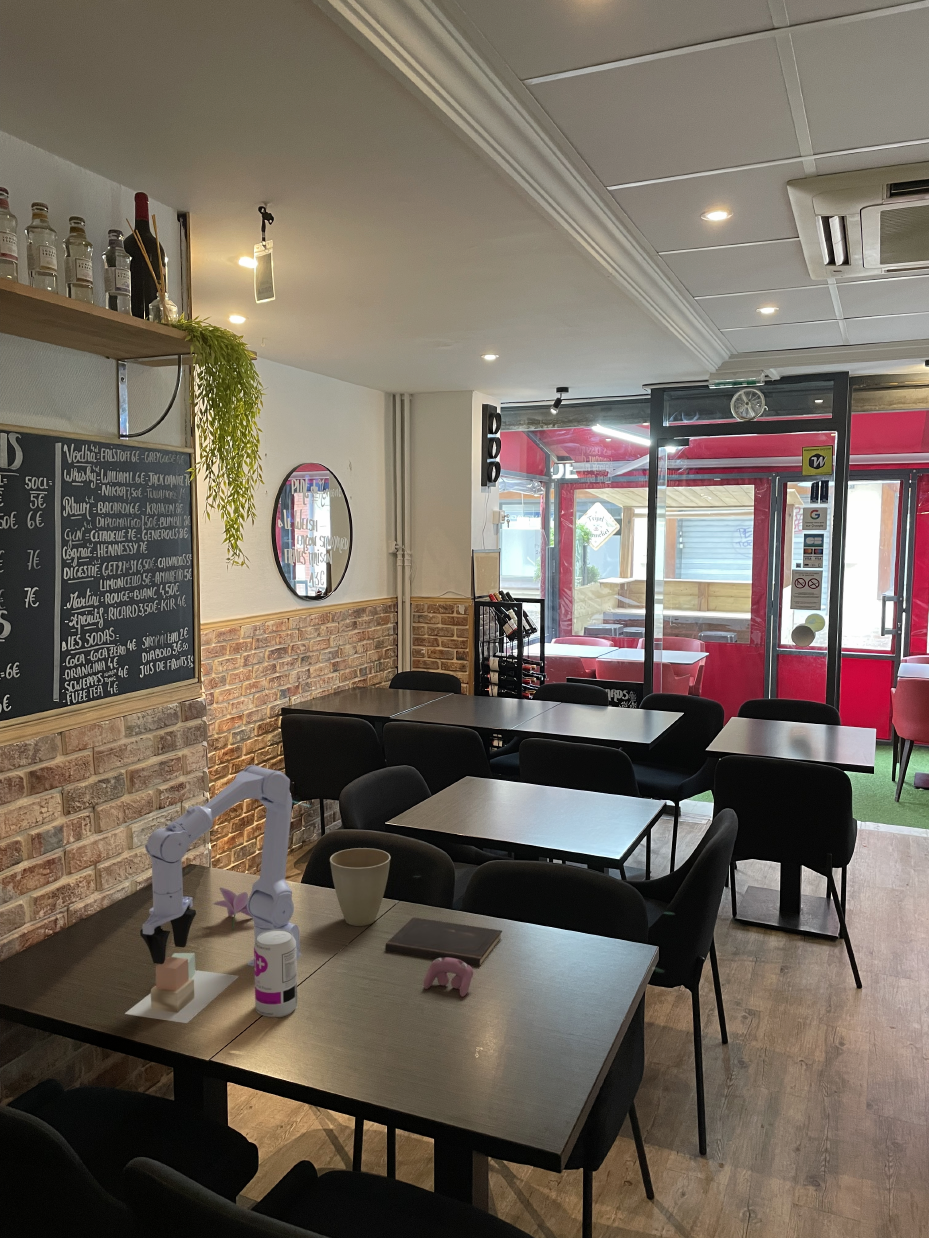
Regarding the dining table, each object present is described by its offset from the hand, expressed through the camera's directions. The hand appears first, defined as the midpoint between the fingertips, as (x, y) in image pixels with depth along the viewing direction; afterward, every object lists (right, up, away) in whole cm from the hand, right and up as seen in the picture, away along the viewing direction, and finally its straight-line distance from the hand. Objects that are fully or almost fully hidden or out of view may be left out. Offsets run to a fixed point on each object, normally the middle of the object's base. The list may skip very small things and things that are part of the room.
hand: (169, 954), depth 181 cm
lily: (+4, -8, +41) cm, 42 cm away
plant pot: (+34, -7, +42) cm, 54 cm away
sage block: (-1, -9, +11) cm, 14 cm away
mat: (+2, -10, +4) cm, 11 cm away
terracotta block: (0, -6, 0) cm, 6 cm away
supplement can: (+22, -11, -1) cm, 24 cm away
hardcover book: (+55, -9, +28) cm, 62 cm away
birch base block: (+1, -10, 0) cm, 10 cm away
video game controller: (+56, -10, +7) cm, 57 cm away
